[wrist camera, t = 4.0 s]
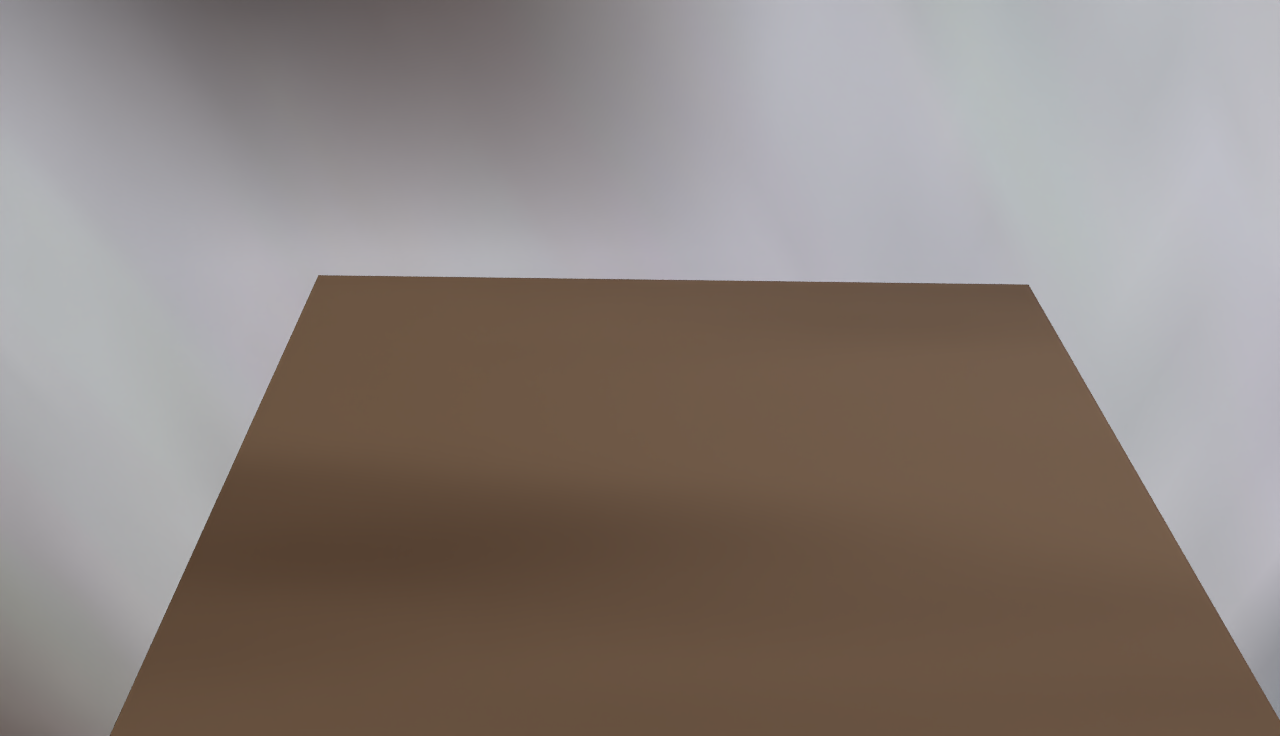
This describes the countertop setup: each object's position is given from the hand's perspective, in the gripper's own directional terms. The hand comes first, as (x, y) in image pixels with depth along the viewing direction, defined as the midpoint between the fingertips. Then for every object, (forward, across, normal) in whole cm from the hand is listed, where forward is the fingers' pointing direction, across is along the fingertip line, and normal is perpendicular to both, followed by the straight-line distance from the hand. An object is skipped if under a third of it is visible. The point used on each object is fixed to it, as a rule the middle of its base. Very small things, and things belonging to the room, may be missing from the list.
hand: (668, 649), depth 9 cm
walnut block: (+1, 0, 0) cm, 1 cm away
